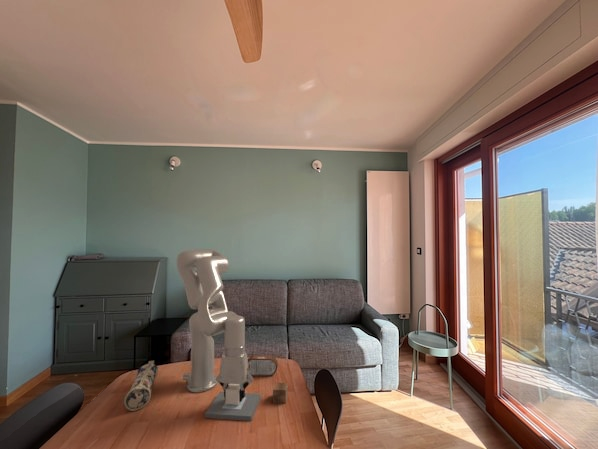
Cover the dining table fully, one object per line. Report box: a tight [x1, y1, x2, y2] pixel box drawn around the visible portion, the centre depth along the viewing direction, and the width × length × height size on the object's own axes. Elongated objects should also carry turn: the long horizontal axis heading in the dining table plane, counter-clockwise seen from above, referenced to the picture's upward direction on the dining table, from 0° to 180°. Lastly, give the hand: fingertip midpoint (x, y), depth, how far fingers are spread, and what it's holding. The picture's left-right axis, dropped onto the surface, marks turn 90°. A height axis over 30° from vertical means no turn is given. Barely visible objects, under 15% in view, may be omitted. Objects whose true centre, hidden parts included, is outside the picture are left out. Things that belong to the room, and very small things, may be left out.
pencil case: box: [123, 360, 159, 412], centre depth 104 cm, size 22×8×10 cm, turn 21°
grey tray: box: [204, 391, 262, 422], centre depth 96 cm, size 17×13×2 cm
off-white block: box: [225, 384, 240, 405], centre depth 96 cm, size 5×5×5 cm
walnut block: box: [272, 381, 289, 404], centre depth 101 cm, size 5×5×5 cm
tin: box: [247, 355, 279, 377], centre depth 119 cm, size 15×3×8 cm, turn 89°
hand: (234, 398), depth 96 cm, fingers closed on off-white block, 4 cm apart
